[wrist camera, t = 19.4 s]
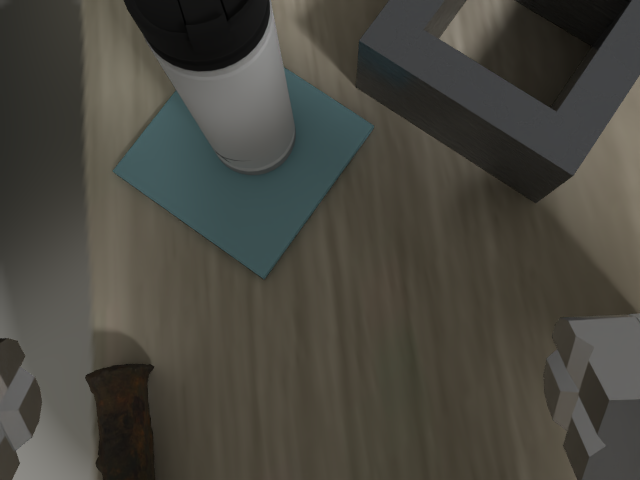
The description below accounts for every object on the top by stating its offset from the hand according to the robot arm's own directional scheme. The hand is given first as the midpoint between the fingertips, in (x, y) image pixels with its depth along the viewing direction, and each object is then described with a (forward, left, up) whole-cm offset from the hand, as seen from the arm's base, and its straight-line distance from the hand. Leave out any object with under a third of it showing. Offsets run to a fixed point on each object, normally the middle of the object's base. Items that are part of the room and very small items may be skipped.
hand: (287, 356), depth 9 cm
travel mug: (+13, -10, -33) cm, 37 cm away
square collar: (+2, -25, -33) cm, 42 cm away
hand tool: (+4, +15, -34) cm, 37 cm away
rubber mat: (+14, -8, -33) cm, 37 cm away
